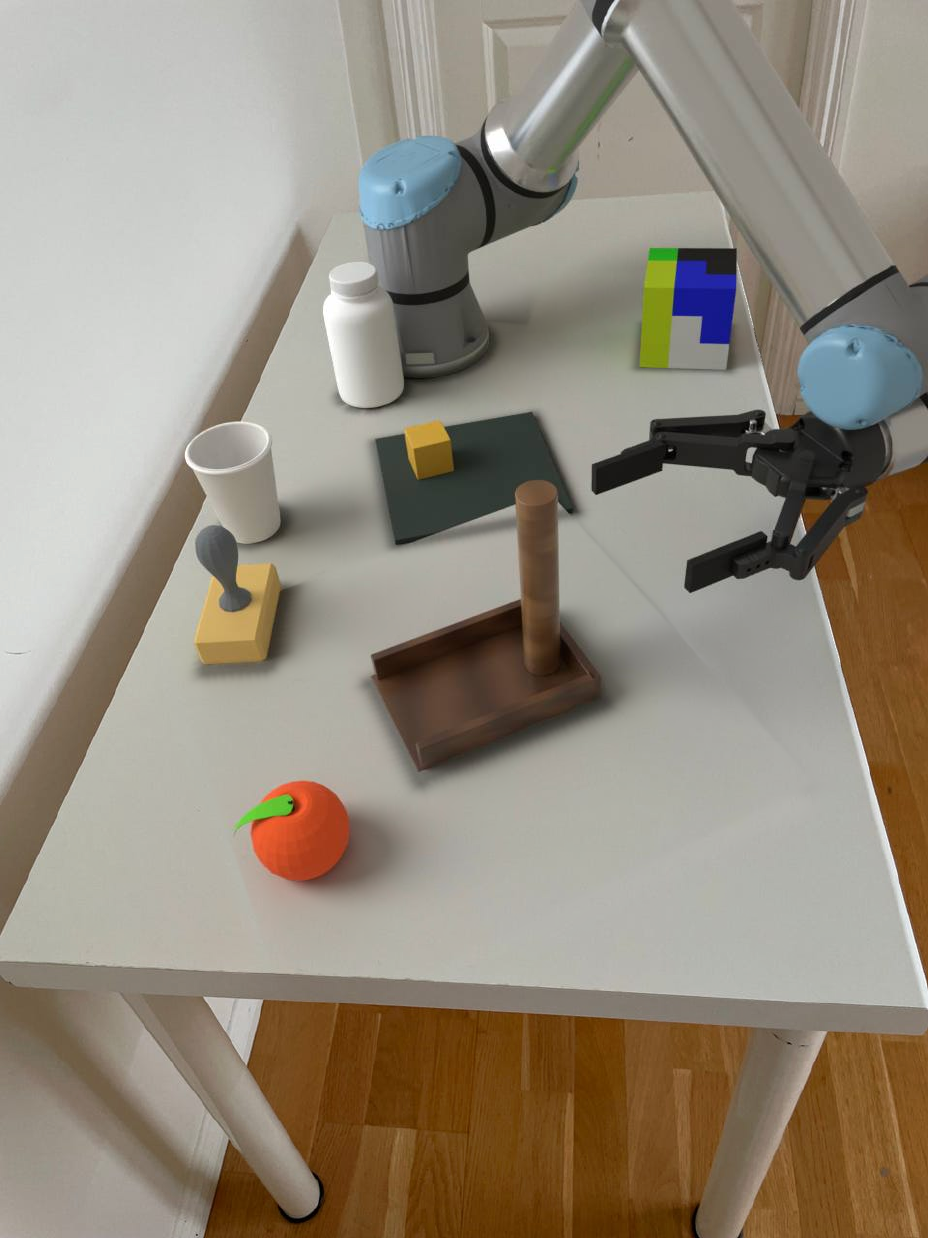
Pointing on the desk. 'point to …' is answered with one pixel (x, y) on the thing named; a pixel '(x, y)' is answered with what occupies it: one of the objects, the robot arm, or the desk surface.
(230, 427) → the dixie cup
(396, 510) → the mat
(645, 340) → the puzzle toy
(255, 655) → the rubber stamp
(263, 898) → the desk surface
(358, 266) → the pill bottle
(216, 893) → the desk surface
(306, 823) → the clementine
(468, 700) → the wooden peg tray
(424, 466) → the block
